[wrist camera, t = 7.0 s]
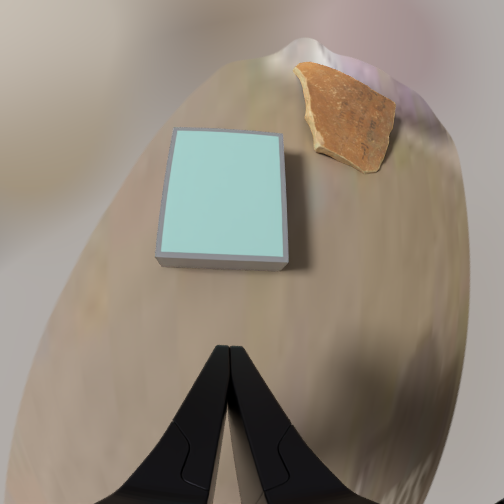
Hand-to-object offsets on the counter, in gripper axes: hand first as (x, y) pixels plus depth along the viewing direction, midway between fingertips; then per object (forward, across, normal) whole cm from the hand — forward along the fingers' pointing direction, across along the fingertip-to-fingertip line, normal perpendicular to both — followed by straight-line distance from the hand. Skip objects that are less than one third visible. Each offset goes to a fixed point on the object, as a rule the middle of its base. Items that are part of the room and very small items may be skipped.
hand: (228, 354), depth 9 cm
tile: (+8, 0, +1) cm, 8 cm away
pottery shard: (+18, -8, -7) cm, 21 cm away
